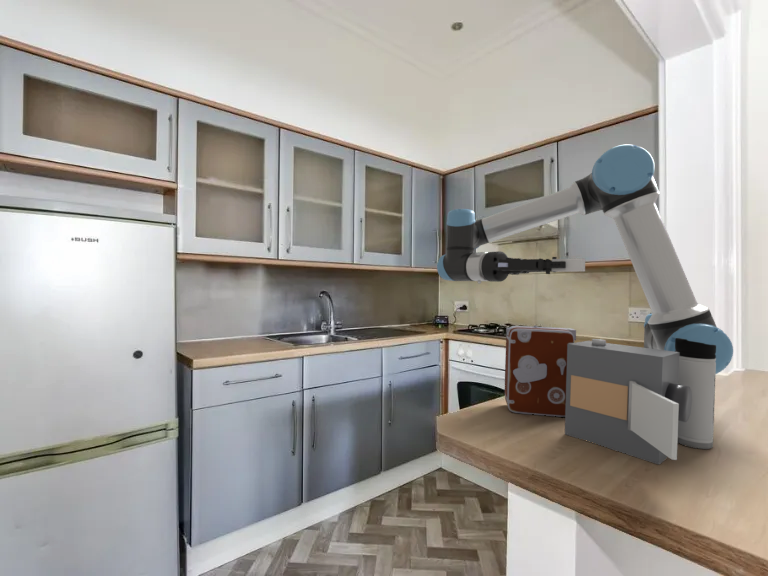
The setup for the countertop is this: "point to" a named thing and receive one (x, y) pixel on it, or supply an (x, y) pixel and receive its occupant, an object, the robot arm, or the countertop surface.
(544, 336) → the red printed tin
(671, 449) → the side door
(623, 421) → the box
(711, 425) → the travel mug
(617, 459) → the countertop surface
